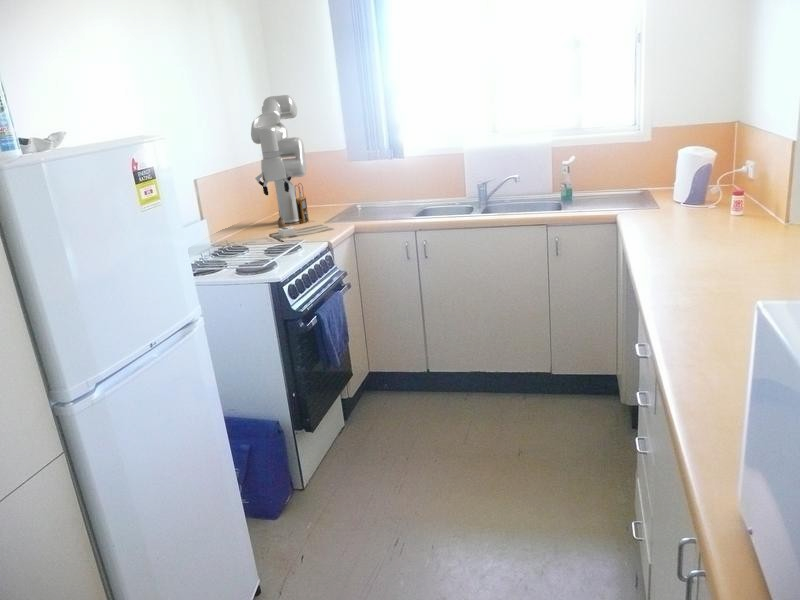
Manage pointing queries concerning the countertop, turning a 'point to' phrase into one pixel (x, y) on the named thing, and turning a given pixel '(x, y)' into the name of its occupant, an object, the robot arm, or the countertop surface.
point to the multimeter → (302, 208)
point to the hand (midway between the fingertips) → (276, 193)
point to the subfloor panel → (302, 232)
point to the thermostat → (286, 231)
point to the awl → (281, 221)
